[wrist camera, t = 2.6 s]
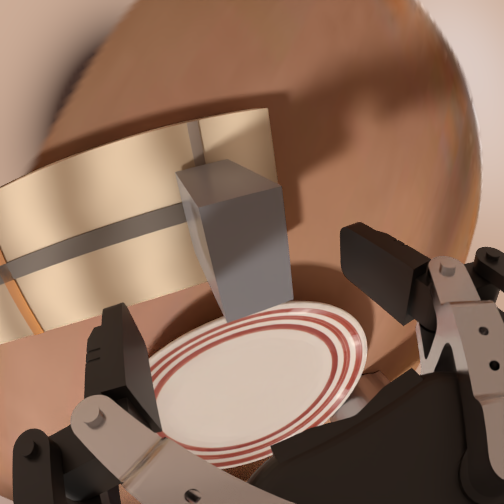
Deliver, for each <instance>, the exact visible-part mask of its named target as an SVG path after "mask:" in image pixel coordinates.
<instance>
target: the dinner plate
mask: <svg viewBox="0 0 504 504" xmlns="http://www.w3.org/2000/svg"><path fill="white" fill-rule="evenodd" d="M366 358H367V340H366V336H365V333H364V330H363V328H362V326H361V325H360V323H359V322H358V321H357V320H356V319H355V318H354V317H353V316H352V315H351V314H350V313H348V312H346V311H344V310H343V309H341V308H338V307H336V306H333V305H330V304H326V303H321V302H314V301H288V302H285V303H282V304H280V305H277V306H274V307H271V308H269V309H266V310H263V311H260V312H258V313H255V314H252V315H249V316H246V317H243V318H240V319H238V320H235V321H232V322H229V323H227V322H226V319H225V317H224V316H223V317H220V318H217V319H215V320H213V321H210V322H208V323H206V324H203V325H201V326H199V327H197V328H195V329H193V330H191V331H189V332H187V333H185V334H183V335H182V336H180V337H179V338H177V339H175V340H174V341H172V342H170V343H169V344H167V345H166V346H165V347H163V348H162V349H160V350H159V351H158V352H156V353H155V354H154V355H153V356H151V357H150V358H149V364H150V370H151V376H152V382H153V387H154V393H155V398H156V403H157V408H158V413H159V417H160V422H161V426H162V432H158V433H155V434H157V435H158V436H160V437H162V438H164V437H167V438H169V439H171V440H172V441H174V442H176V443H177V444H179V445H180V446H182V447H184V448H185V449H187V450H188V451H190V452H192V453H193V454H195V455H197V456H198V457H200V458H202V459H203V460H205V461H207V462H209V463H210V464H212V465H214V466H216V467H217V468H219V469H225V468H231V467H236V466H240V465H244V464H248V463H251V462H255V461H258V460H261V459H263V458H266V457H269V456H271V455H273V453H272V450H271V447H270V446H271V445H274V444H276V443H278V442H281V441H283V440H285V439H287V438H290V437H292V436H294V435H296V434H298V433H301V432H303V431H305V430H307V429H309V428H312V427H316V426H320V425H322V424H324V423H325V422H326V421H327V420H328V419H329V418H330V417H331V416H332V415H333V414H334V413H335V412H336V411H337V410H338V409H339V408H340V407H341V406H342V404H343V403H344V402H345V401H346V399H347V398H348V397H349V396H350V394H351V393H352V391H353V390H354V388H355V386H356V385H357V383H358V381H359V379H360V377H361V375H362V372H363V369H364V366H365V363H366Z"/></svg>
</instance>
